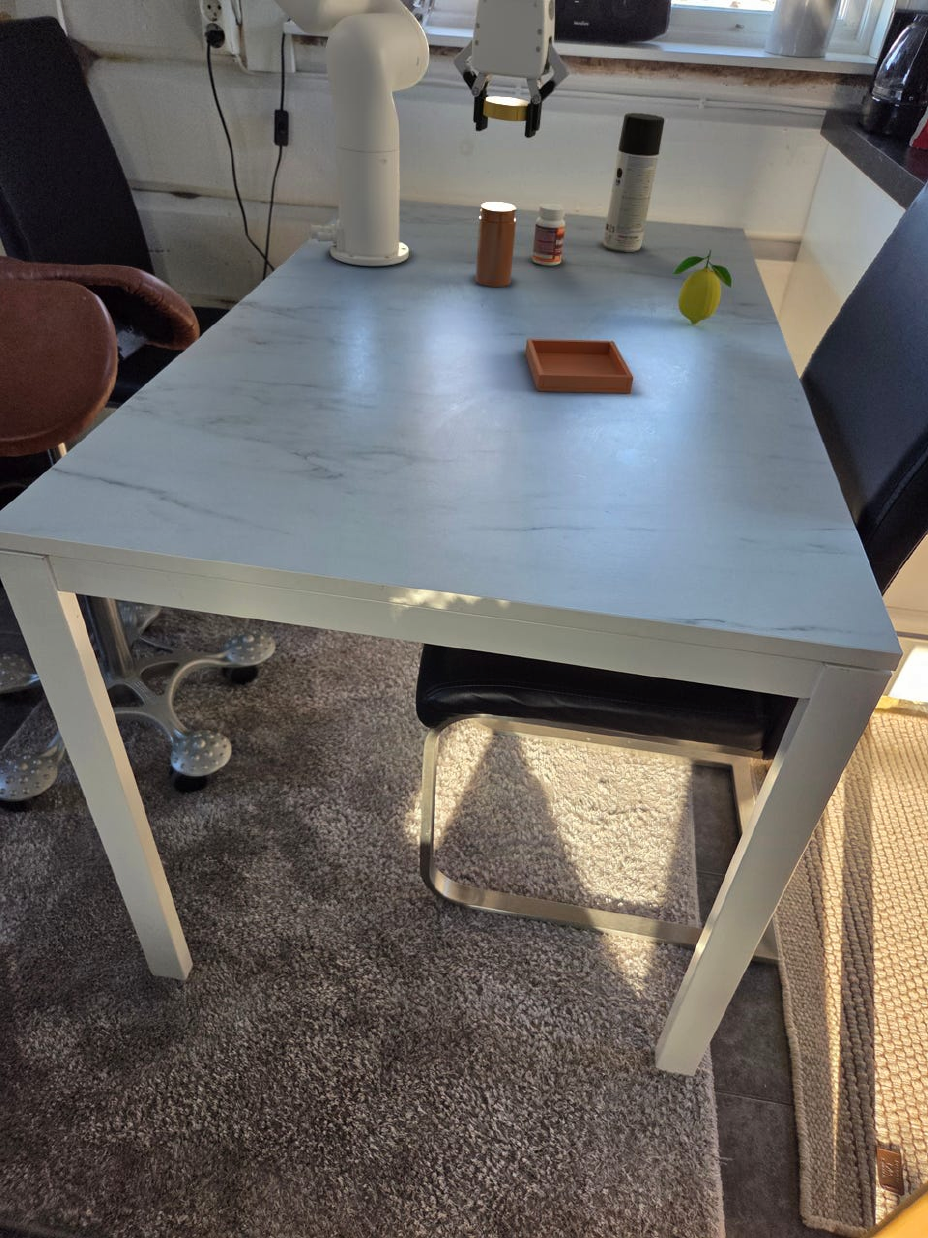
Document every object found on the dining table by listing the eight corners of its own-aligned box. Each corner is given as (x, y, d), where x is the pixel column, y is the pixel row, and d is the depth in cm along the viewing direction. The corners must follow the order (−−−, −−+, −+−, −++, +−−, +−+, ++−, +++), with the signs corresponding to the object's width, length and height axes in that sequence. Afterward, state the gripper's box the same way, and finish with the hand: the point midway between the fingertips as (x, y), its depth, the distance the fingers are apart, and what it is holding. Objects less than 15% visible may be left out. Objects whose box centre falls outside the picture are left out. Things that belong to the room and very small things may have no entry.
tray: (537, 391, 97) (539, 374, 96) (525, 353, 106) (526, 338, 104) (630, 393, 98) (633, 377, 97) (611, 356, 107) (613, 340, 105)
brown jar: (476, 286, 125) (481, 210, 118) (474, 275, 129) (478, 200, 122) (512, 287, 125) (519, 211, 119) (508, 276, 129) (514, 202, 123)
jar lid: (535, 116, 114) (537, 101, 113) (521, 123, 109) (523, 107, 108) (491, 109, 116) (493, 94, 114) (476, 115, 111) (477, 99, 110)
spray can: (615, 239, 149) (636, 110, 136) (648, 248, 146) (672, 117, 133) (595, 246, 145) (615, 114, 132) (629, 255, 142) (652, 120, 129)
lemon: (662, 323, 117) (678, 249, 110) (678, 313, 121) (694, 240, 114) (707, 335, 114) (725, 260, 108) (722, 324, 118) (741, 250, 112)
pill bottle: (559, 267, 134) (565, 211, 129) (530, 264, 135) (535, 208, 130) (562, 259, 138) (569, 204, 133) (534, 255, 139) (539, 201, 133)
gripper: (593, -28, 103) (573, 136, 114) (463, -39, 107) (456, 121, 118) (578, -28, 98) (558, 145, 109) (442, -39, 102) (437, 129, 113)
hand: (505, 131), depth 114 cm, fingers closed on jar lid, 6 cm apart
